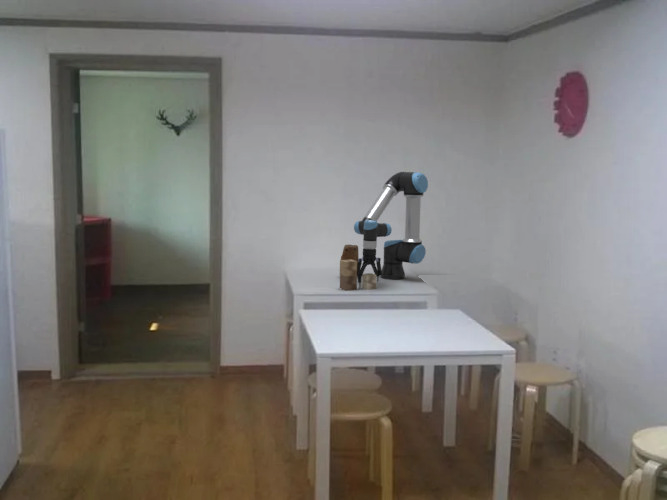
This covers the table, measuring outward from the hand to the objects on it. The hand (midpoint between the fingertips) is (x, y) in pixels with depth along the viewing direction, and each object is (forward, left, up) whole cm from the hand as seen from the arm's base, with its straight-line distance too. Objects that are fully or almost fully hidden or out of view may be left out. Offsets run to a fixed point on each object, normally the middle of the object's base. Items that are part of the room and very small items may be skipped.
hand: (367, 287), depth 407 cm
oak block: (+12, -2, +8) cm, 14 cm away
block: (-7, -34, 0) cm, 35 cm away
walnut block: (+11, -2, 0) cm, 12 cm away
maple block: (-1, 0, 0) cm, 1 cm away
